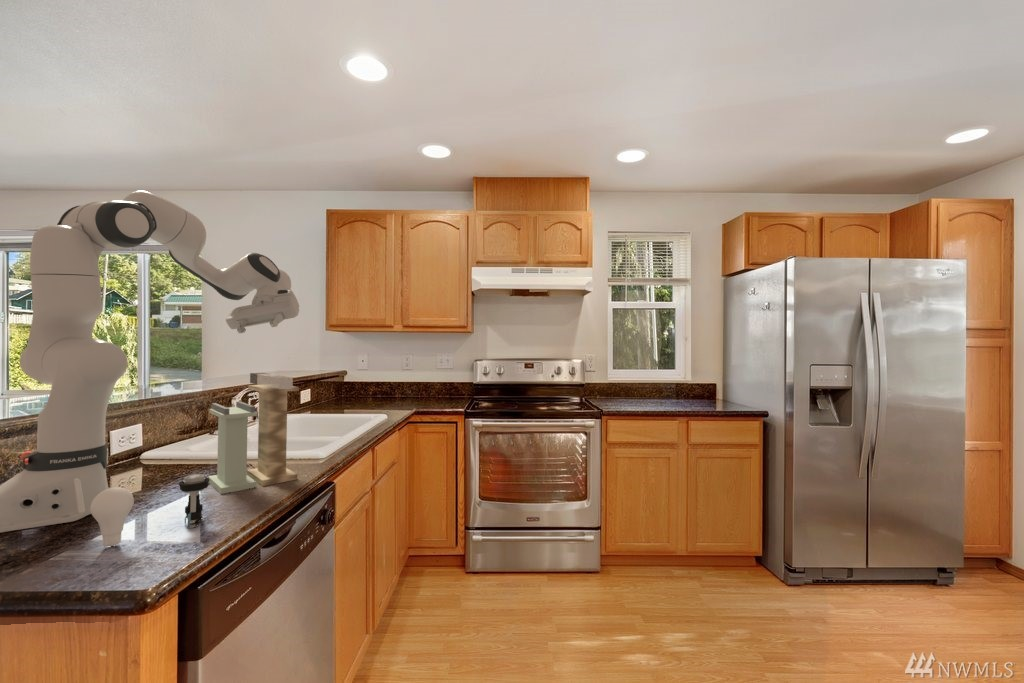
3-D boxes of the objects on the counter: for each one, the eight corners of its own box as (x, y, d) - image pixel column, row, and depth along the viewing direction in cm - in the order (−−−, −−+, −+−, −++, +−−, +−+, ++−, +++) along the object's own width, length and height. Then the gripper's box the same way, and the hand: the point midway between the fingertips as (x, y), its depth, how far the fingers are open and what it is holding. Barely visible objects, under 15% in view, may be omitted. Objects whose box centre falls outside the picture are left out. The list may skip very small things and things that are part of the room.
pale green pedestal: (221, 494, 114) (222, 409, 114) (208, 481, 124) (209, 403, 124) (256, 487, 120) (257, 406, 120) (240, 476, 130) (242, 401, 130)
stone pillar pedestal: (262, 486, 121) (263, 389, 121) (246, 474, 131) (248, 385, 131) (297, 479, 127) (298, 387, 127) (279, 469, 137) (281, 383, 137)
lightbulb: (114, 538, 88) (115, 482, 88) (141, 540, 87) (142, 483, 87) (80, 552, 82) (81, 492, 82) (109, 555, 81) (110, 494, 81)
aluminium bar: (278, 389, 121) (278, 378, 121) (250, 382, 139) (250, 373, 139) (292, 388, 123) (292, 377, 123) (262, 382, 141) (262, 372, 141)
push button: (207, 527, 93) (208, 479, 94) (175, 533, 91) (176, 483, 91) (209, 517, 99) (210, 471, 99) (179, 521, 96) (180, 474, 97)
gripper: (230, 301, 140) (214, 326, 129) (296, 288, 141) (287, 312, 131) (239, 317, 144) (225, 343, 133) (304, 305, 145) (295, 330, 134)
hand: (256, 328), depth 132 cm, fingers open, 8 cm apart
